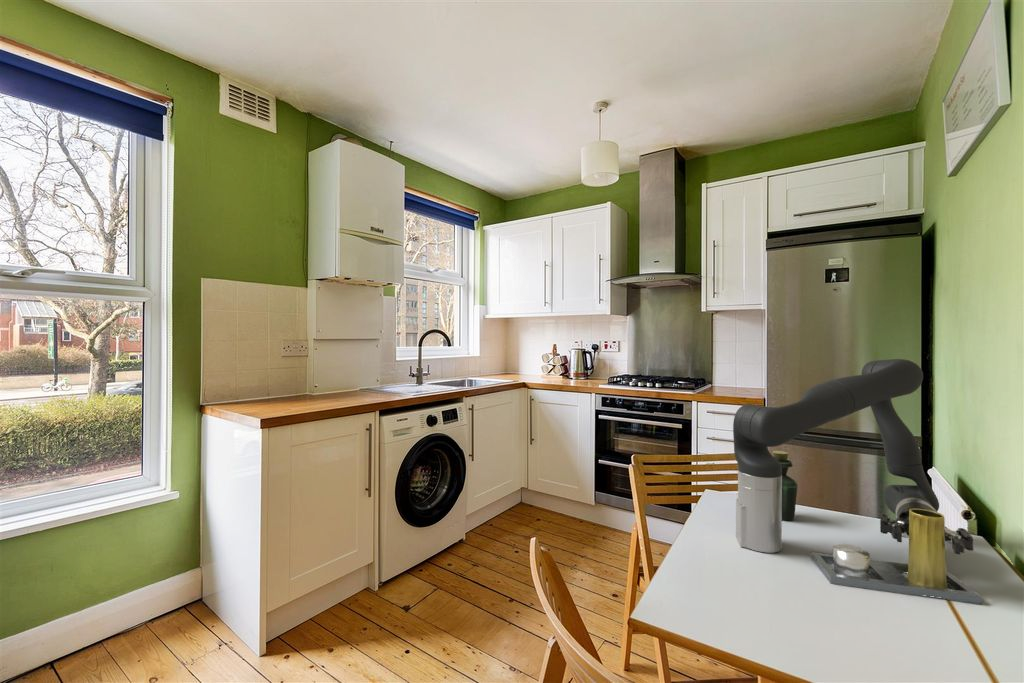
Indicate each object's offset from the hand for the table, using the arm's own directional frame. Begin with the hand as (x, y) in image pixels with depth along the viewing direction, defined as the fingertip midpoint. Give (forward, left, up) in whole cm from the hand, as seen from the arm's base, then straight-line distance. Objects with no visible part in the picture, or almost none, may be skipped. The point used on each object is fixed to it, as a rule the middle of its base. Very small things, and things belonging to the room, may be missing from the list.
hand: (928, 543), depth 89 cm
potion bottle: (-18, +33, -9) cm, 39 cm away
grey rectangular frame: (-6, +1, -9) cm, 11 cm away
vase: (0, +1, -9) cm, 9 cm away
